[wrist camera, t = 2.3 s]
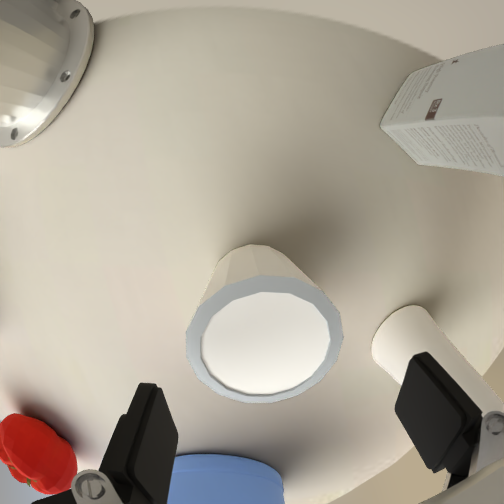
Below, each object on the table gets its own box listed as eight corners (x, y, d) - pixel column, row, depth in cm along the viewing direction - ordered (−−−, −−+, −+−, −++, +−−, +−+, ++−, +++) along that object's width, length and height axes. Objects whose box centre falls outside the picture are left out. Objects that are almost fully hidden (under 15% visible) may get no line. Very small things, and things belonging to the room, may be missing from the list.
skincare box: (408, 71, 14) (536, 25, 3) (447, 112, 15) (575, 102, 4) (374, 130, 16) (533, 107, 4) (418, 171, 16) (567, 195, 5)
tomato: (34, 397, 20) (1, 450, 12) (100, 460, 24) (84, 513, 15) (1, 403, 21) (-26, 443, 12) (57, 458, 24) (40, 500, 16)
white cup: (192, 240, 17) (168, 286, 10) (304, 228, 17) (348, 265, 10) (209, 336, 19) (202, 410, 12) (307, 324, 19) (338, 392, 12)
